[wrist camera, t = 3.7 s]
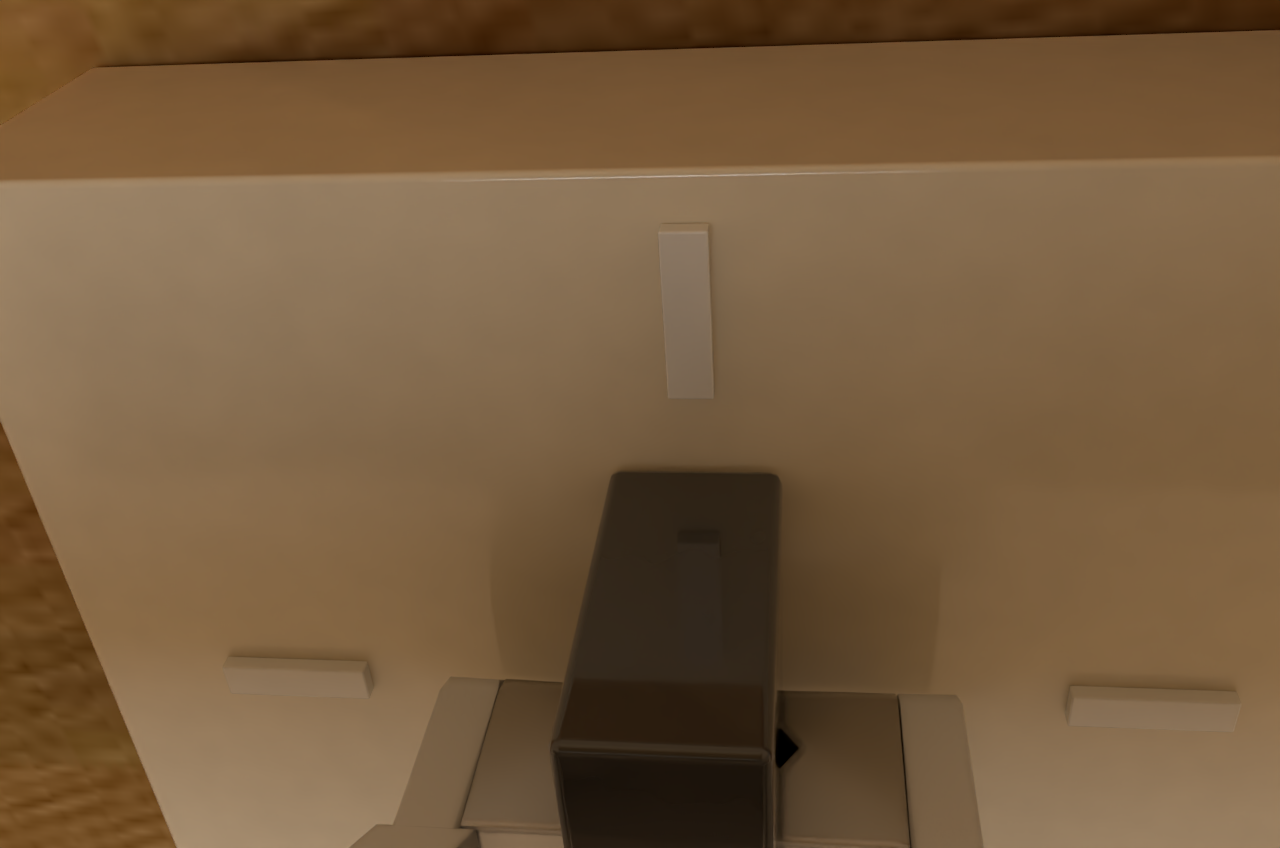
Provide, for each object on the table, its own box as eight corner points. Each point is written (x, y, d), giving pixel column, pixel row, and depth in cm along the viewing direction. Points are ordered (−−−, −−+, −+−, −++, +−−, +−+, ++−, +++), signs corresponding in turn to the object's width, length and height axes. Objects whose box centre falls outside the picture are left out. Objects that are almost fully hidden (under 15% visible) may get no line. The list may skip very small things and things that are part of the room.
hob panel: (1423, 23, 10) (1636, 161, 8) (1202, 815, 16) (1282, 1055, 13) (89, 65, 12) (-115, 192, 9) (307, 773, 17) (218, 980, 15)
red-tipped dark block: (609, 465, 10) (537, 777, 7) (782, 467, 10) (774, 788, 7) (646, 861, 13) (603, 1195, 10) (783, 868, 12) (776, 1212, 10)
